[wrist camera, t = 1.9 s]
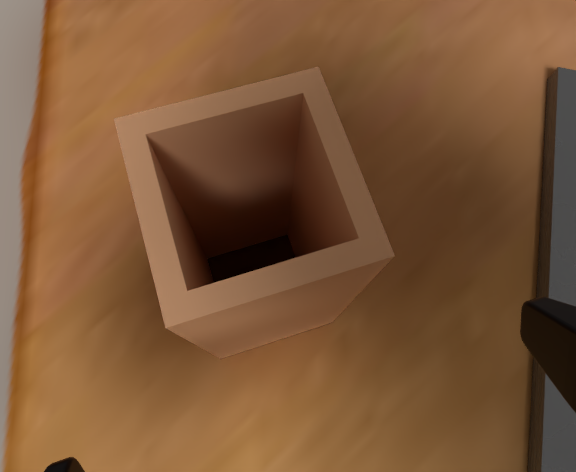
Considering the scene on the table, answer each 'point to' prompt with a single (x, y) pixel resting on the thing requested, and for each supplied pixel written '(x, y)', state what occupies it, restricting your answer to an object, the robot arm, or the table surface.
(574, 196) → the plate
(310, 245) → the sleeve
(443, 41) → the table surface
